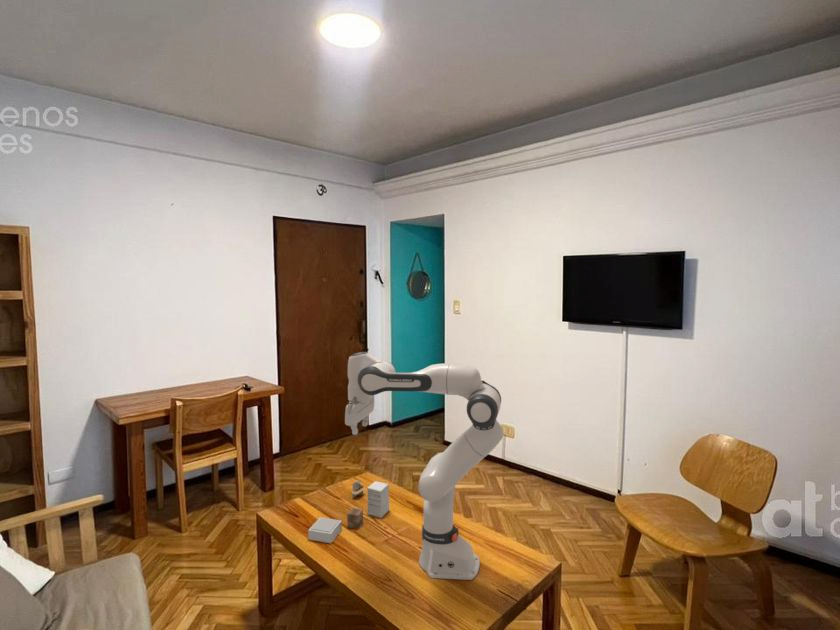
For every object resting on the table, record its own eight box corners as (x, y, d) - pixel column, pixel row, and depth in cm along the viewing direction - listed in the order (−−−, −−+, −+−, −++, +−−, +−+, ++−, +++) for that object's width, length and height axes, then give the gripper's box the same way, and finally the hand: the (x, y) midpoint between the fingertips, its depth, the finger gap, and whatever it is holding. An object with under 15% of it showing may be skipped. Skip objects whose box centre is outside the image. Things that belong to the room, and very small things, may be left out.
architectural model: (365, 495, 220) (365, 480, 219) (356, 501, 214) (356, 486, 213) (360, 493, 222) (360, 479, 221) (350, 499, 216) (350, 484, 215)
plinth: (341, 529, 190) (341, 519, 189) (330, 543, 180) (330, 533, 180) (320, 526, 192) (320, 516, 192) (308, 539, 183) (308, 529, 182)
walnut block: (363, 522, 195) (362, 509, 194) (358, 529, 190) (358, 515, 190) (352, 521, 196) (352, 507, 196) (347, 527, 192) (347, 513, 191)
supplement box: (375, 506, 208) (375, 480, 207) (389, 510, 205) (389, 483, 204) (367, 514, 202) (366, 487, 200) (381, 518, 198) (380, 490, 197)
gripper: (356, 402, 160) (356, 440, 161) (377, 388, 180) (377, 422, 181) (340, 401, 162) (340, 438, 163) (362, 387, 181) (362, 420, 182)
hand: (360, 429), depth 172 cm, fingers open, 8 cm apart
